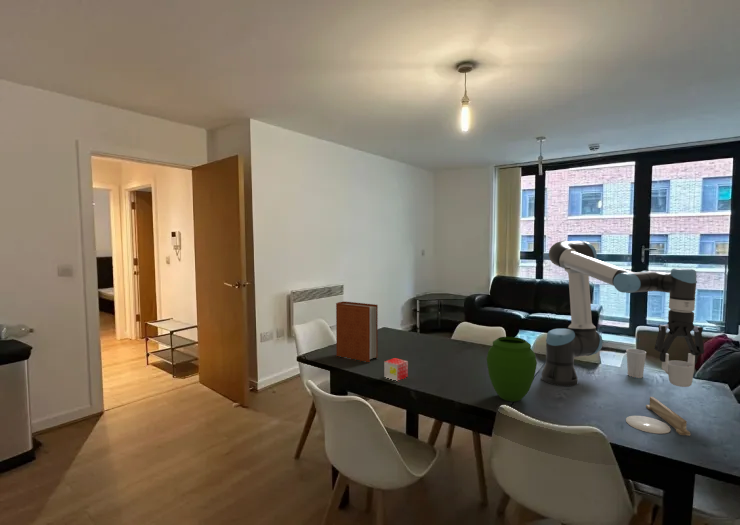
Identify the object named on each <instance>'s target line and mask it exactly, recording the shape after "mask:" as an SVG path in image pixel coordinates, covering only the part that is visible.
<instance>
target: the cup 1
mask: <svg viewBox="0 0 740 525" xmlns="http://www.w3.org/2000/svg"><path fill="white" fill-rule="evenodd" d="M646 357H647V351H645V350H642V349H637V348H627V349H626V364H627V365H626V366H627V372H626V373H627V374H628V375H629V377H631V376H632V377H631V378H635V377H636V379H643V378H644V370H645V364H646ZM628 375H627V376H628ZM642 377H643V378H642Z"/></svg>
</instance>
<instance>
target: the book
mask: <svg viewBox="0 0 740 525" xmlns="http://www.w3.org/2000/svg"><path fill="white" fill-rule="evenodd" d="M335 304H336V305H335V308H336V309H335V316H336V320H335V321H336V322H335V323H336V324H335V325H336V326H335V328H336V334H335V335H336V341H335V342H336V343H335V344H336V346H335V347H336V350H335V351H336V357H337V356H341V357H347V358H351V359H356V360H360V361H359V362H361V361H366V362H370V363H371V361H370V360H371V359H373V358H378V357H379V356H378V355H379V354H378V353H379V352H378V348H379V347H378V344H379V343H378V336H379V334H378V331H379V330H378V329H379V328H378V326H379V325H378V324H379V323H378V322H379V318H378V312H379V311H378V308H379V307H378V304H375V303H374V304H373V303H364V302H355V301H354V302H352V301H339V302H336V303H335ZM351 359H350V360H351ZM356 360H355V361H356ZM366 362H365V363H366Z"/></svg>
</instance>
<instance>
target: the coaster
mask: <svg viewBox="0 0 740 525" xmlns="http://www.w3.org/2000/svg"><path fill="white" fill-rule="evenodd" d="M625 421H626V423H627V424H628V426H631V427H632V428H634V429H636V430H638V431H642V432H644V433H645V432H646V433H649V434H657V435H665V434H669V433H670V432H671V425H670V424H668V423H667V422H663V421H661V420H659V419H656V418H653V417H649V416H643V415H630V416H627V417H626V418H625ZM669 425H670V426H669Z"/></svg>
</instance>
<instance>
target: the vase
mask: <svg viewBox="0 0 740 525" xmlns="http://www.w3.org/2000/svg"><path fill="white" fill-rule="evenodd" d="M537 364H538V362H537V357H536V353H535V352H534V350H533V349H532V344H531V343H530V342H528V341H527V340H526V339H524V338H522V337H518V336H517V337H516V336H499V337H497V338H496V339H495V340H493V341H492V346H490V347H489V349H488V351H487V355H486V365H487V373H488V377H489V379H490V381H491V385H492V388H493V389H494V391H495V392H496V395H498V397H499V398H500V399H502V400H504V401H507V402H514V403H515V402H516V403H517V402H519V401H521V400H523V398H524V397H526V395H527V393H528V392H529V391H530V389H531V387H532V385H533V381H534V380H535V375H536V370H537Z"/></svg>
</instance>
